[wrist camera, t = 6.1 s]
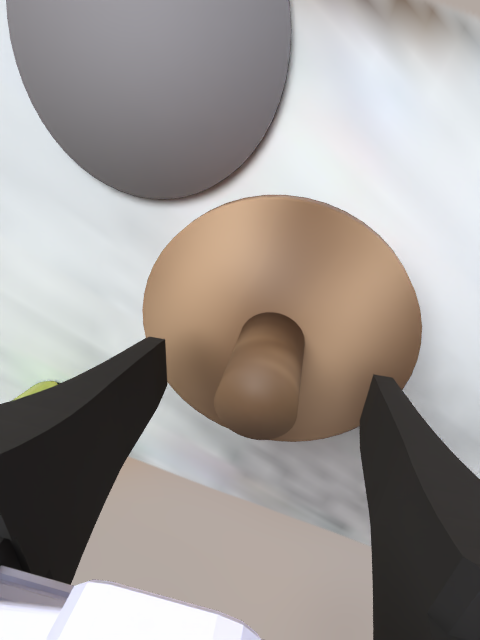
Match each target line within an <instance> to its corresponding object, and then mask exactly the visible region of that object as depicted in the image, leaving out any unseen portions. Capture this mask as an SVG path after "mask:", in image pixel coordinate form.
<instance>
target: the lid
mask: <svg viewBox="0 0 480 640" xmlns="http://www.w3.org/2000/svg"><path fill="white" fill-rule="evenodd" d="M143 325H144V330H145V335H146V338H147V337H155V338H161V339H165V343H166V365H167V382H168V383H169V384H170V386H171V387H172V388H173V389H174V390H175V391H176V393H177V394H178V395H179V396H180V397H181V398H182V399H183V400H184V401H186V402H187V403H188V404H189V405H190V406H192V407H193V408H194V409H195V410H197V411H198V412H200V413H201V414H203V415H204V416H206V417H207V418H209V419H210V420H212V421H214V422H216V423H218V424H220V425H222V426H224V427H226V428H229V429H230V430H232V431H233V432H235V433H237V434H239V435H241V436H244V437H247V438H251V439H256V440H274V441H290V442H297V441H311V440H317V439H323V438H328V437H331V436H335V435H339V434H342V433H344V432H347V431H349V430H352V429H354V428H356V427H358V426H360V418H361V414H362V411H363V407H364V404H365V401H366V397H367V394H368V391H369V387H370V384H371V381H372V377H373V374H374V375H380V376H386V377H392V378H393V379H394V380H395V381H396V383H397V384H398V385H399V387H400V388H401V390H402V389H403V388H404V386H405V385H406V383H407V381H408V380H409V378H410V376H411V374H412V372H413V369H414V367H415V364H416V362H417V359H418V355H419V350H420V346H421V334H422V323H421V313H420V307H419V304H418V300H417V296H416V293H415V290H414V288H413V286H412V284H411V281H410V279H409V277H408V275H407V273H406V271H405V269H404V267H403V265H402V263H401V262H400V260H399V259H398V257H397V256H396V254H395V253H394V251H393V250H392V249H391V248H390V247H389V245H388V244H387V243H386V242H385V241H384V240H383V239H382V238H381V237H380V236H379V235H378V234H377V233H376V232H375V231H373V230H372V229H371V228H370V227H369V226H367V225H366V224H365V223H364V222H362V221H360V220H359V219H357V218H355V217H354V216H352V215H351V214H349V213H347V212H345V211H343V210H341V209H338V208H336V207H334V206H331V205H329V204H327V203H323V202H320V201H316V200H312V199H309V198H304V197H297V196H289V195H262V196H255V197H247V198H243V199H239V200H236V201H232V202H229V203H226V204H223V205H221V206H219V207H217V208H214V209H212V210H210V211H208V212H207V213H205V214H203V215H202V216H200V217H199V218H197V219H196V220H194V221H193V222H191V223H190V224H189V225H188V226H187V227H185V228H184V229H183V230H182V231H181V232H180V233H178V234H177V235H176V236H175V237H174V238H173V239H172V240H171V241H170V243H169V244H168V245H167V246H166V247H165V248H164V250H163V251H162V252H161V254H160V256H159V257H158V259H157V261H156V262H155V264H154V266H153V268H152V271H151V273H150V275H149V278H148V281H147V285H146V289H145V293H144V301H143Z"/></svg>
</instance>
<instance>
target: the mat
mask: <svg viewBox="0 0 480 640" xmlns="http://www.w3.org/2000/svg"><path fill="white" fill-rule="evenodd" d="M6 4H7V19H8V26H9V32H10V39H11V44H12V48H13V52H14V56H15V60H16V64H17V67H18V70H19V73H20V76H21V78H22V81H23V84H24V86H25V89H26V91H27V93H28V95H29V98H30V100H31V102H32V104H33V106H34V108H35V110H36V111H37V113H38V115H39V117H40V119H41V120H42V122H43V124H44V125H45V126H46V128H47V129H48V131H49V132H50V134H51V135H52V137H53V138H54V139H55V140H56V142H57V143H58V144H59V145H60V146H61V148H62V149H63V150H64V151H65V152H66V153H67V154H68V155H69V156H70V157H71V158H72V159H73V160H74V161H75V162H76V163H77V164H78V165H79V166H80V167H82V168H83V169H84V170H85V171H87V172H88V173H89V174H91V175H92V176H93V177H95V178H97V179H98V180H100V181H101V182H103V183H105V184H106V185H109V186H111V187H113V188H115V189H117V190H119V191H122V192H125V193H128V194H131V195H134V196H139V197H144V198H150V199H172V198H181V197H185V196H189V195H193V194H196V193H198V192H201V191H203V190H206V189H208V188H210V187H212V186H214V185H215V184H217V183H218V182H220V181H222V180H223V179H225V178H227V177H228V176H229V175H230V174H232V173H233V172H234V171H235V170H236V169H238V168H239V167H240V166H241V165H242V164H243V163H244V162H245V161H246V159H247V158H248V157H249V156H250V155H251V154H252V153H253V151H254V150H255V149H256V147H257V146H258V144H259V143H260V142H261V140H262V139H263V137H264V135H265V133H266V132H267V130H268V128H269V126H270V124H271V122H272V120H273V118H274V115H275V113H276V110H277V108H278V105H279V103H280V100H281V96H282V93H283V89H284V85H285V82H286V77H287V71H288V64H289V58H290V43H291V19H290V3H289V0H6Z"/></svg>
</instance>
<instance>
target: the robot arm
mask: <svg viewBox="0 0 480 640" xmlns="http://www.w3.org/2000/svg"><path fill="white" fill-rule="evenodd" d="M166 387H167V365H166V343H165V339H161V338H155V337H147V338H145V339H144V340H142V341H140V342H138V343H136V344H135V345H133V346H131V347H130V348H128V349H126V350H124V351H123V352H121V353H119V354H117V355H116V356H114V357H112V358H110V359H109V360H107V361H105V362H103V363H101V364H99V365H98V366H96V367H94V368H92V369H90V370H88V371H86V372H84V373H82V374H80V375H78V376H76V377H74V378H72V379H69V380H67V381H65V382H63V383H60V384H58V385H55V386H53V387H50V388H48V389H45V390H43V391H40V392H37V393H34V394H31V395H28V396H25V397H22V398H19V399H16V400H13V401H10V402H6V403H3V404H0V640H263V639H260V637H259V635H258V634H257V632H255V631H254V630H253V629H251V628H250V627H249V626H248V625H246V624H245V623H244V622H243V621H242V620H239V619H237V618H235V617H232V616H230V615H227V614H225V613H223V612H220V611H217V610H213V609H210V608H206V607H202V606H199V605H195V604H192V603H188V602H185V601H180V600H177V599H173V598H170V597H166V596H162V595H159V594H155V593H151V592H148V591H145V590H141V589H137V588H134V587H130V586H127V585H123V584H119V583H116V582H111V581H103V580H96V579H92V580H89V581H87V582H84V583H81V584H78V585H76V586H73V585H71V582H72V580H73V578H74V575H75V572H76V569H77V567H78V565H79V562H80V560H81V557H82V554H83V552H84V550H85V547H86V545H87V543H88V540H89V538H90V535H91V533H92V531H93V528H94V526H95V524H96V521H97V519H98V517H99V515H100V512H101V510H102V508H103V505H104V503H105V501H106V499H107V496H108V495H109V492H110V490H111V488H112V486H113V484H114V482H115V480H116V478H117V475H118V473H119V471H120V469H121V468H122V466H123V464H124V462H125V460H126V459H127V457H128V455H129V454H130V452H131V450H132V449H133V447H134V446H135V444H136V442H137V441H138V439H139V437H140V436H141V434H142V432H143V431H144V429H145V428H146V426H147V424H148V423H149V421H150V419H151V418H152V416H153V414H154V413H155V411H156V409H157V407H158V405H159V403H160V401H161V398H162V396H163V394H164V391H165V389H166ZM360 452H361V459H362V466H363V473H364V480H365V487H366V494H367V501H368V508H369V515H370V525H371V545H372V570H373V571H372V574H373V628H374V630H373V640H480V479H479V478H478V477H477V476H476V475H474V474H473V473H472V472H471V471H470V470H469V469H468V468H467V467H466V466H465V465H464V464H463V463H462V462H461V461H460V460H459V459H458V458H457V457H456V456H455V455H454V454H453V453H452V452H451V451H450V449H449V448H448V447H447V446H446V445H445V444H444V443H443V442H442V440H441V439H440V438H439V437H438V436H437V435H436V434H435V432H434V431H433V430H432V429H431V428H430V427H429V425H428V424H427V423H426V422H425V420H424V419H423V418H422V417H421V415H420V414H419V413H418V411H417V410H416V409H415V407H414V406H413V405H412V403H411V402H410V401H409V399H408V398H407V397H406V395H405V394H404V392H403V391H402V390H401V388H400V387H399V385H398V384H397V383H396V381H395V380H394V379H393V378H392V377H386V376H380V375H374V374H373V377H372V381H371V384H370V387H369V391H368V394H367V397H366V401H365V404H364V407H363V411H362V414H361V418H360Z"/></svg>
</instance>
